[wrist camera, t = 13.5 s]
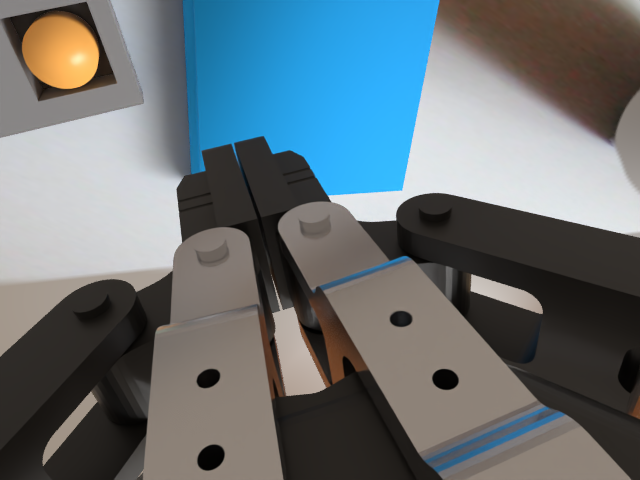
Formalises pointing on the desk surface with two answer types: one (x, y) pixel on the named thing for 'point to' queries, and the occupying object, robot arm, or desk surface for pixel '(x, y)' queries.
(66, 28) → the button orange
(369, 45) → the book
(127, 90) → the panel
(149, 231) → the desk surface
